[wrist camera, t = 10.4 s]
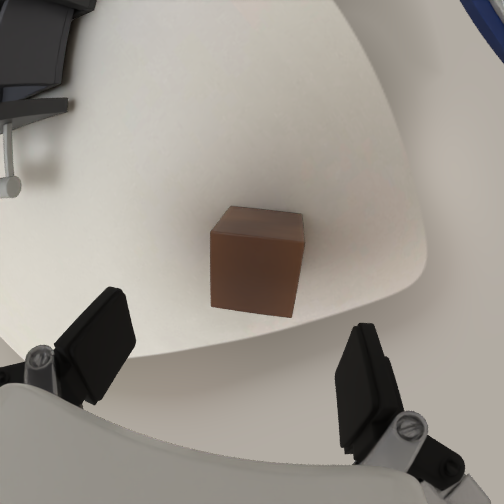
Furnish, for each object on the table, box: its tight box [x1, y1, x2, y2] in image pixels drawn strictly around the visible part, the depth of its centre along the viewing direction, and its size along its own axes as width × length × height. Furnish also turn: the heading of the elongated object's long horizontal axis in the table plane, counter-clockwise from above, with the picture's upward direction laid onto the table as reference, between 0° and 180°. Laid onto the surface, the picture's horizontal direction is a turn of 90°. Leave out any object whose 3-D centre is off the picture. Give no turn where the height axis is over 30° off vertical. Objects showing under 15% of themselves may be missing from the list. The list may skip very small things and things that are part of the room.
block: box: [210, 206, 305, 318], centre depth 16 cm, size 5×5×5 cm
